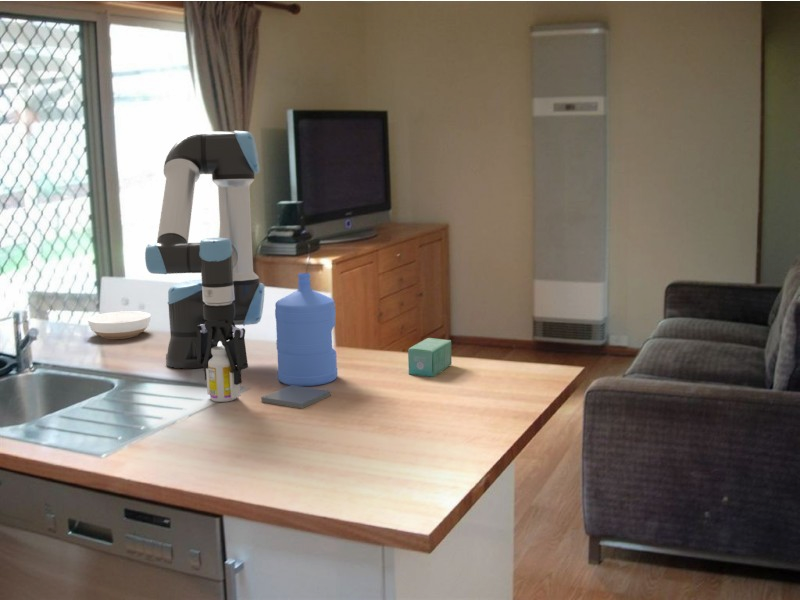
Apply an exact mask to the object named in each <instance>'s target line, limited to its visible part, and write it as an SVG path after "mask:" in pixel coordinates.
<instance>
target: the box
mask: <svg viewBox="0 0 800 600" xmlns="http://www.w3.org/2000/svg"><path fill="white" fill-rule="evenodd" d="M407 353H408V354H407V356H408V357H407V358H408V359H407V360H408V363H407V364H408V375H410V376H420V377H421V376H422V377H428V376H429V377H430V378H433V377H436V376H437V375H439V374H440V373H442V372H444V371H445V370H446V369H447V368H448V366H449V367H450V366H451V365H452V340H451V339H442V338H433V337H428V338H424V339H423V340H422V341H419V342H417V343H416V344H414V345H413V346H411V347H409V348H408V352H407ZM444 369H445V370H444ZM441 371H442V372H441ZM438 373H439V374H438ZM435 375H436V376H435ZM429 377H428V378H429Z"/></svg>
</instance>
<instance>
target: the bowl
mask: <svg viewBox="0 0 800 600" xmlns="http://www.w3.org/2000/svg"><path fill="white" fill-rule="evenodd" d="M150 322H151V313H149V312H145V311H138V310H137V311H136V310H133V311H132V310H131V311H130V310H129V311H128V310H127V311H126V310H124V311H114V312H112V311H111V312H105V313H100V314H95V315H93V316H90V317H88V326H89V328H90V330H91V332H94V333H95V334H96V335H98V336H100V337H102V338H103V339H107V340H124V339H129V338H133V337H137V336H138V335H140V334H141V333H142V332H144V331H145V330H146V329H147V328H148V327H149V326H150Z"/></svg>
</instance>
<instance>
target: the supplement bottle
mask: <svg viewBox="0 0 800 600" xmlns="http://www.w3.org/2000/svg"><path fill="white" fill-rule="evenodd" d="M211 353H212V355H213V357H212V358H211V359H210V360H209V361H208V370H209V386H210V395H209V397H210V399H211V400H212V401H213V402H215V403H216V402H218V403H225V402H232V401H235V400H236V399H237V398H238V397H236V398H231V393H230V375H229V372H230V371H232V369H231V366H230V363H229V359H228V356H227V353H226V350H225V347H224V346H223V345H217V346H216V347H213V348H211Z"/></svg>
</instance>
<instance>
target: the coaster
mask: <svg viewBox="0 0 800 600" xmlns="http://www.w3.org/2000/svg"><path fill="white" fill-rule="evenodd" d="M331 393H332V392H331V390H328V389H323V388H322V389H321V388H314V387H309V386H295V385H288V386H285V387H283V388H280V389H278V390H276V391H273V392H270V393H268V394H266V395H263V396H261V403H266V404H273V405H278V406H284V407H291V408H296V409H304V408H306V407H309V406H311V405H313V404H316V403H318V402H319V401H322V400H325V399H327V398H328V397H331Z"/></svg>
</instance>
